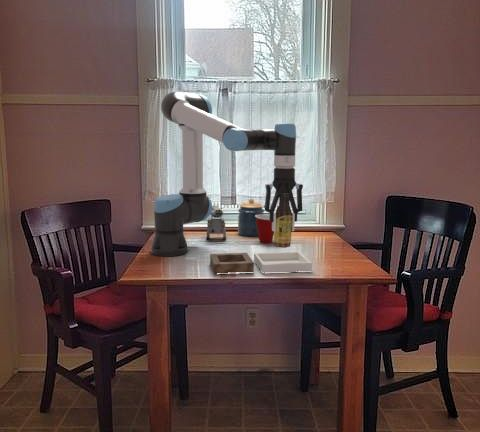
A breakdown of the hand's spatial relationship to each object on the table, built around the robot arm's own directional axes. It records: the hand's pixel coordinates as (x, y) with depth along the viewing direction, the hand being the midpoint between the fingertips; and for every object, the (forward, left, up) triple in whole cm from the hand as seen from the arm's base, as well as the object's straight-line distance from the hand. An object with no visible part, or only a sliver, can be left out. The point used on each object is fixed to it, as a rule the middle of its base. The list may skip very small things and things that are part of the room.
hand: (283, 230), depth 167 cm
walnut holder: (-19, 0, -14) cm, 24 cm away
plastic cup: (+3, +40, -14) cm, 43 cm away
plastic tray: (0, 0, -14) cm, 14 cm away
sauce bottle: (0, 0, -6) cm, 6 cm away
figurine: (-19, +49, -14) cm, 54 cm away
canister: (-1, +57, -14) cm, 59 cm away
